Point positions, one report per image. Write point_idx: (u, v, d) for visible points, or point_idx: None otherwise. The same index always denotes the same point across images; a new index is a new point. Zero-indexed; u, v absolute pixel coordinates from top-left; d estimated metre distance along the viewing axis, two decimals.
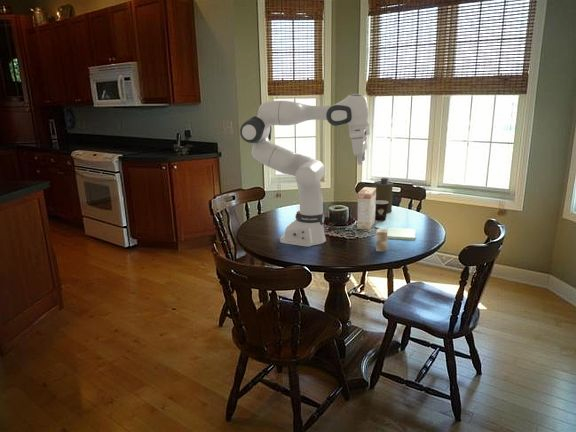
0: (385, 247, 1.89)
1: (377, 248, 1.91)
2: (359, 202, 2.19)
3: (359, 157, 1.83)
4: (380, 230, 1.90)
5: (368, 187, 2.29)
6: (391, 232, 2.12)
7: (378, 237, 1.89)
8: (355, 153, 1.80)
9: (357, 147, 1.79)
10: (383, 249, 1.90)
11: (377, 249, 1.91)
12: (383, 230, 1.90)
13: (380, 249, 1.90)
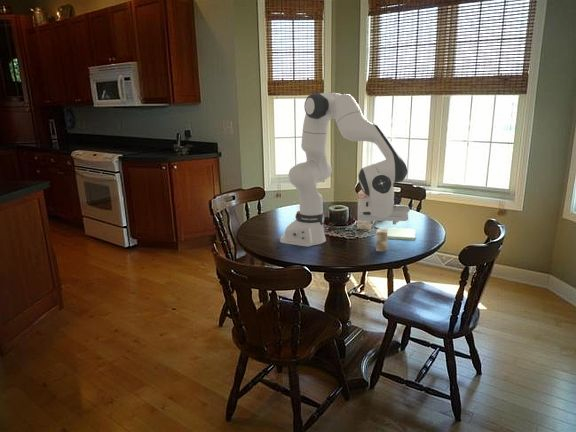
0: (385, 247, 1.89)
1: (377, 248, 1.91)
2: (359, 202, 2.19)
3: None
4: (380, 230, 1.90)
5: None
6: (391, 232, 2.12)
7: (378, 237, 1.89)
8: None
9: None
10: (383, 249, 1.90)
11: (377, 249, 1.91)
12: (383, 230, 1.90)
13: (380, 249, 1.90)
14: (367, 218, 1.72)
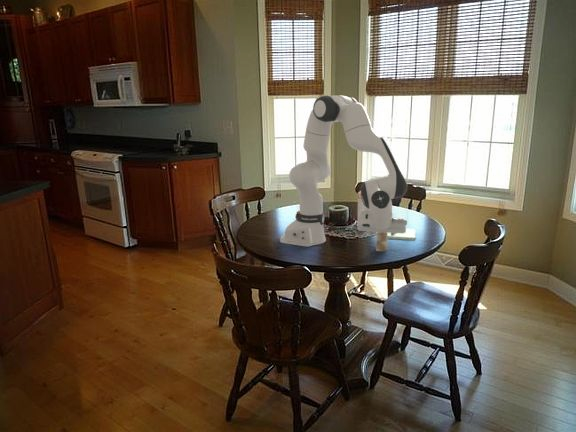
0: (385, 247, 1.89)
1: (377, 248, 1.91)
2: (359, 202, 2.19)
3: None
4: None
5: None
6: None
7: (378, 237, 1.89)
8: None
9: None
10: (383, 249, 1.90)
11: (377, 249, 1.91)
12: None
13: (380, 249, 1.90)
14: (366, 229, 1.80)
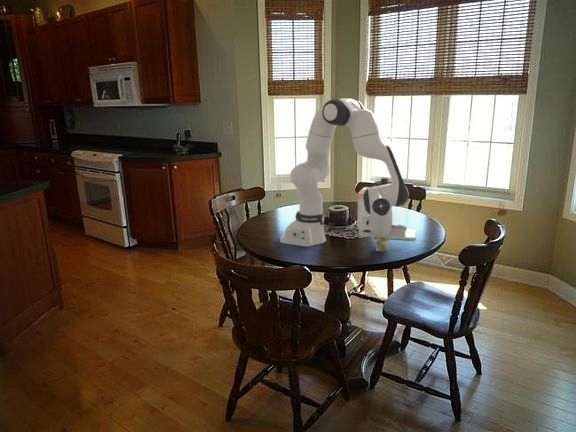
0: (385, 247, 1.89)
1: (377, 248, 1.91)
2: (359, 202, 2.19)
3: None
4: None
5: (368, 187, 2.29)
6: None
7: (378, 237, 1.89)
8: None
9: None
10: (383, 249, 1.90)
11: (377, 249, 1.91)
12: None
13: (380, 249, 1.90)
14: (367, 234, 1.87)
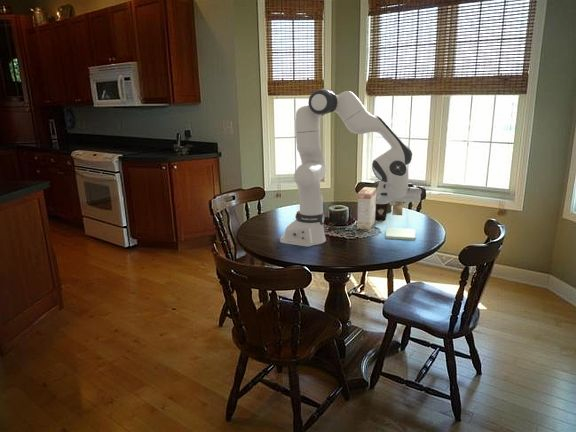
0: (401, 211, 1.99)
1: (393, 212, 2.00)
2: (359, 202, 2.19)
3: None
4: None
5: (368, 187, 2.29)
6: (391, 232, 2.12)
7: (394, 201, 1.98)
8: None
9: None
10: (398, 213, 1.99)
11: (393, 213, 2.00)
12: None
13: (396, 213, 2.00)
14: (384, 199, 1.96)
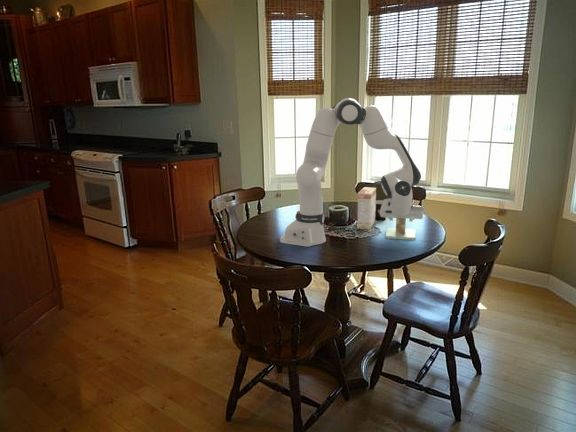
0: (404, 230, 2.08)
1: (396, 231, 2.09)
2: (359, 202, 2.19)
3: None
4: None
5: (368, 187, 2.29)
6: (391, 232, 2.12)
7: (397, 221, 2.08)
8: None
9: None
10: (401, 232, 2.09)
11: (396, 232, 2.10)
12: None
13: (399, 232, 2.09)
14: (388, 215, 2.05)
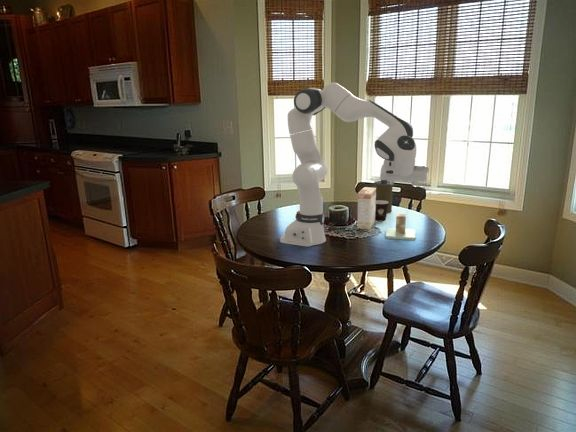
0: (404, 230, 2.08)
1: (396, 231, 2.09)
2: (359, 202, 2.19)
3: None
4: (399, 215, 2.09)
5: (368, 187, 2.29)
6: (391, 232, 2.12)
7: (397, 221, 2.08)
8: None
9: None
10: (401, 232, 2.09)
11: (396, 232, 2.10)
12: (402, 214, 2.09)
13: (399, 232, 2.09)
14: (389, 178, 1.89)
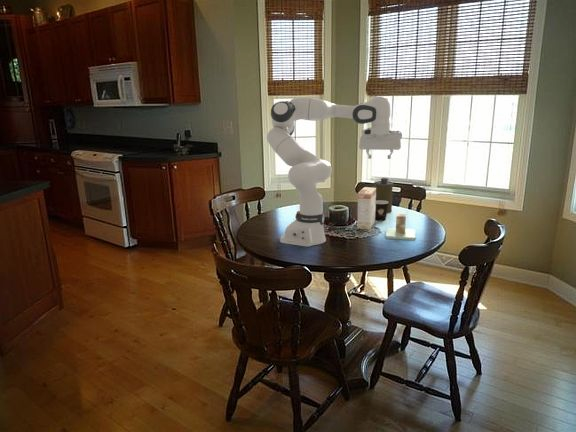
0: (404, 230, 2.08)
1: (396, 231, 2.09)
2: (359, 202, 2.19)
3: (366, 151, 2.12)
4: (399, 215, 2.09)
5: (368, 187, 2.29)
6: (391, 232, 2.12)
7: (397, 221, 2.08)
8: None
9: None
10: (401, 232, 2.09)
11: (396, 232, 2.10)
12: (402, 214, 2.09)
13: (399, 232, 2.09)
14: (367, 145, 2.09)
